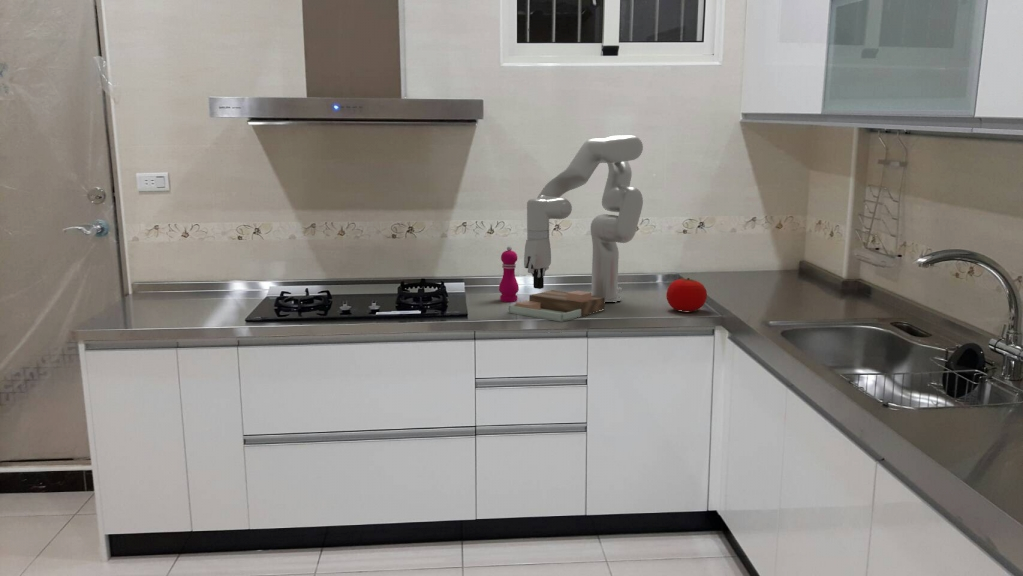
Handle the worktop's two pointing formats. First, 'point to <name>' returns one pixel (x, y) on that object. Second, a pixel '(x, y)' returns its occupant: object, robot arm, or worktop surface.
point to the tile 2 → (579, 296)
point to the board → (566, 302)
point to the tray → (545, 313)
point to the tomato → (686, 295)
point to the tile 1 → (529, 304)
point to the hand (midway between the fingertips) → (538, 288)
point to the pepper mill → (508, 277)
